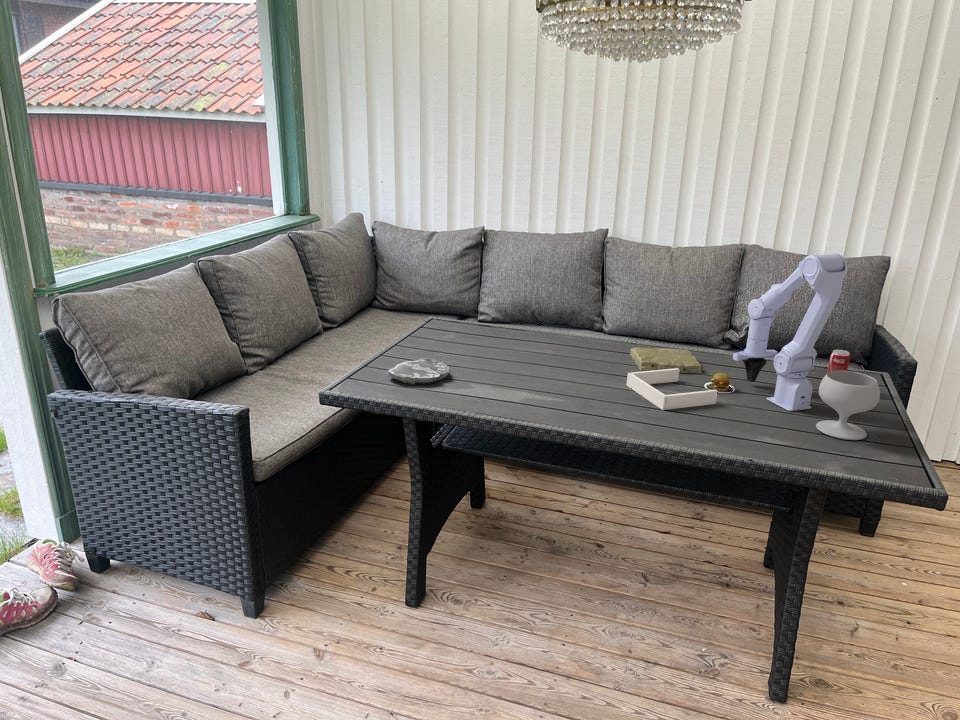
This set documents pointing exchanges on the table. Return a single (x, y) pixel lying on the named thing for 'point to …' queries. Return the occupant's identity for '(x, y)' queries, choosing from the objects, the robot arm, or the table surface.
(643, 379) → the box
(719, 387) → the hamburger
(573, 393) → the table surface
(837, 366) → the soda can
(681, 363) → the decorative tile
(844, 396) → the chalice
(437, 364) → the brain slice
